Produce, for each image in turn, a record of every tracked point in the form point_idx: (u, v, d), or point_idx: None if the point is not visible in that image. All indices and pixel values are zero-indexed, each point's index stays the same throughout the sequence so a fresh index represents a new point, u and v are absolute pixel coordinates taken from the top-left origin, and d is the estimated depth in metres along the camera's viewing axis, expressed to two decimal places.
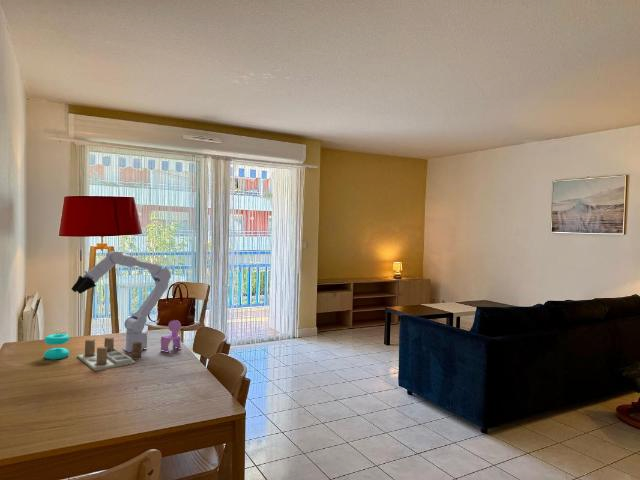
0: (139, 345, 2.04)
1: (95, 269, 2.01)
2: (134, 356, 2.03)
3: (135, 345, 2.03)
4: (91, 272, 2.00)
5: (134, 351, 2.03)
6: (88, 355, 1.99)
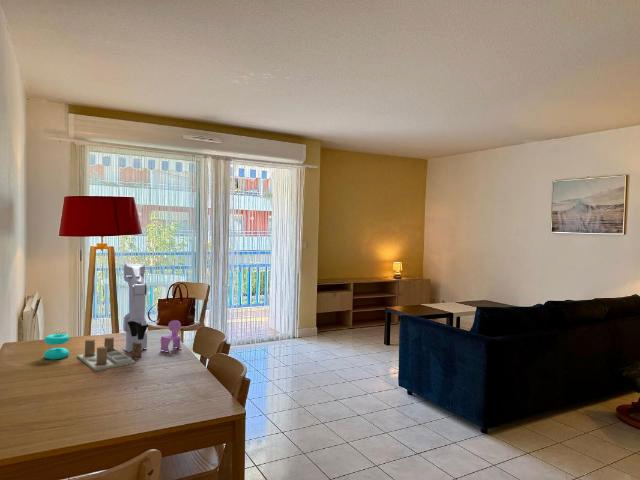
0: (139, 345, 2.04)
1: (135, 313, 2.02)
2: (134, 356, 2.03)
3: (135, 345, 2.03)
4: (134, 317, 2.02)
5: (134, 351, 2.03)
6: (88, 355, 1.99)
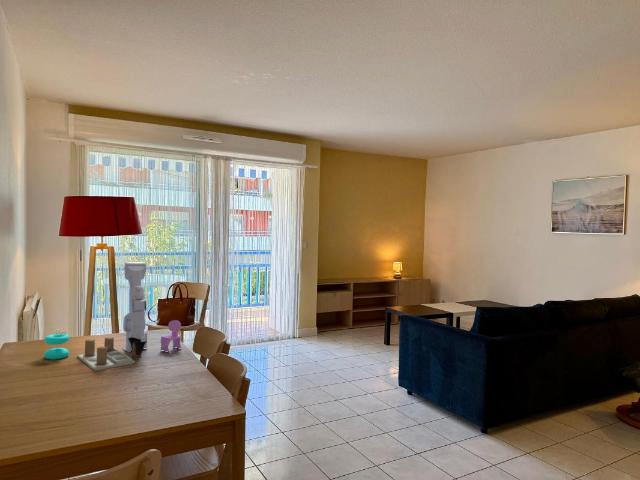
0: None
1: (134, 329, 2.02)
2: (134, 356, 2.03)
3: None
4: (134, 333, 2.02)
5: (134, 351, 2.03)
6: (88, 355, 1.99)
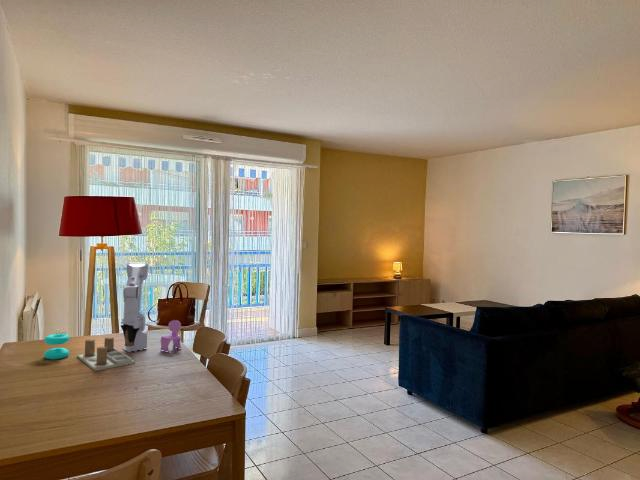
0: None
1: (127, 315, 1.97)
2: (127, 343, 1.98)
3: None
4: (126, 320, 1.97)
5: (127, 338, 1.98)
6: (88, 355, 1.99)
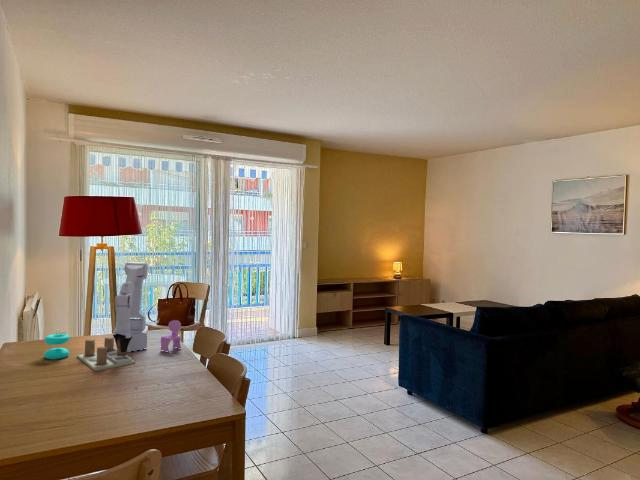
0: None
1: (119, 325, 1.93)
2: (119, 353, 1.94)
3: None
4: (118, 329, 1.93)
5: (119, 348, 1.94)
6: (88, 355, 1.99)
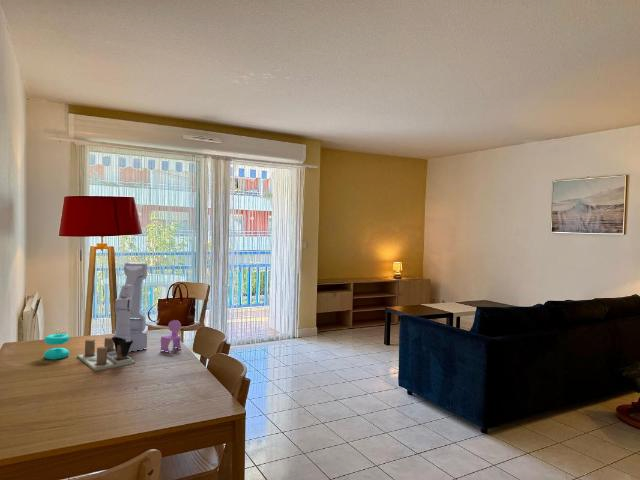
0: None
1: (119, 328, 1.93)
2: (119, 359, 1.94)
3: (120, 348, 1.94)
4: (118, 333, 1.93)
5: (119, 354, 1.94)
6: (88, 355, 1.99)
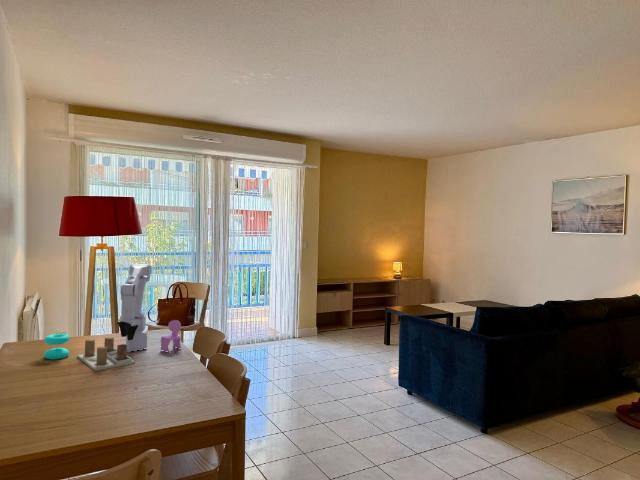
0: (124, 348, 1.95)
1: (125, 313, 2.00)
2: (119, 359, 1.94)
3: (120, 348, 1.94)
4: (124, 317, 2.00)
5: (119, 354, 1.94)
6: (88, 355, 1.99)
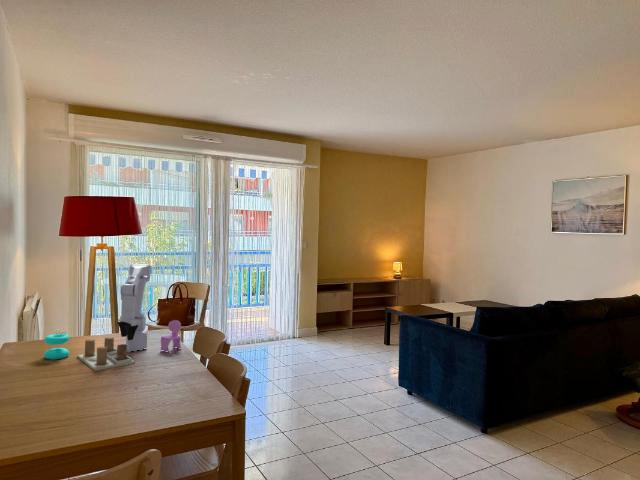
0: (124, 348, 1.95)
1: (125, 313, 2.00)
2: (119, 359, 1.94)
3: (120, 348, 1.94)
4: (124, 317, 2.00)
5: (119, 354, 1.94)
6: (88, 355, 1.99)
